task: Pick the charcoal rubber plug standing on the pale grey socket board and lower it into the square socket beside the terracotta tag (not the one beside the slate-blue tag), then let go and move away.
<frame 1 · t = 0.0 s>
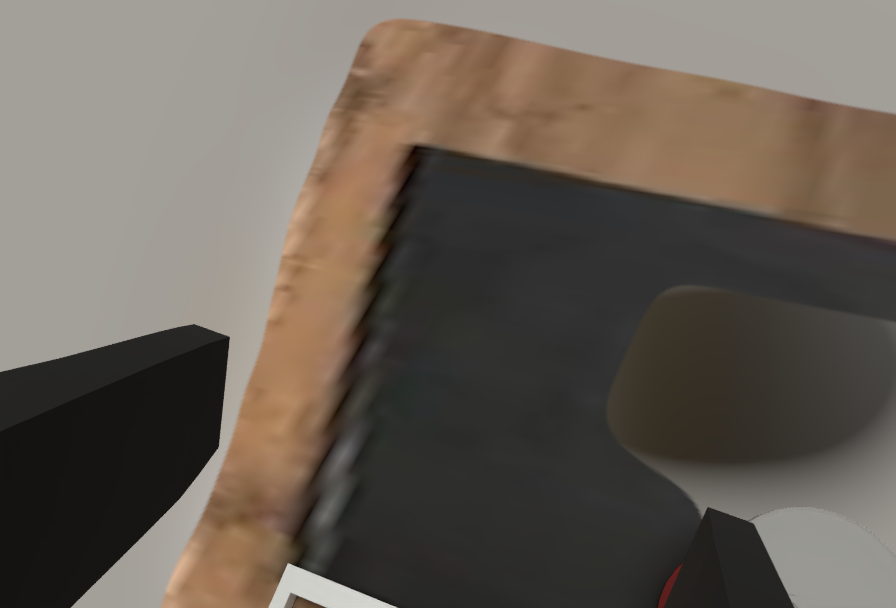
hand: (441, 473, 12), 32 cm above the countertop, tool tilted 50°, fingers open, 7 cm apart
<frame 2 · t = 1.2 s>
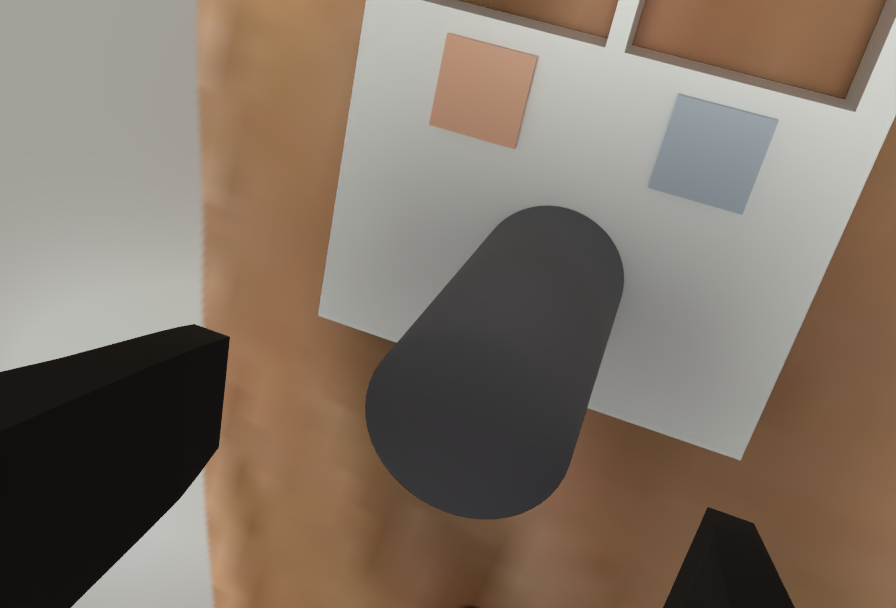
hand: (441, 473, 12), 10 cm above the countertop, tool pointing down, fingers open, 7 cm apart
socket board: (607, 96, 19), on the countertop
plug: (549, 276, 19), point 2 cm above the countertop, touching socket board
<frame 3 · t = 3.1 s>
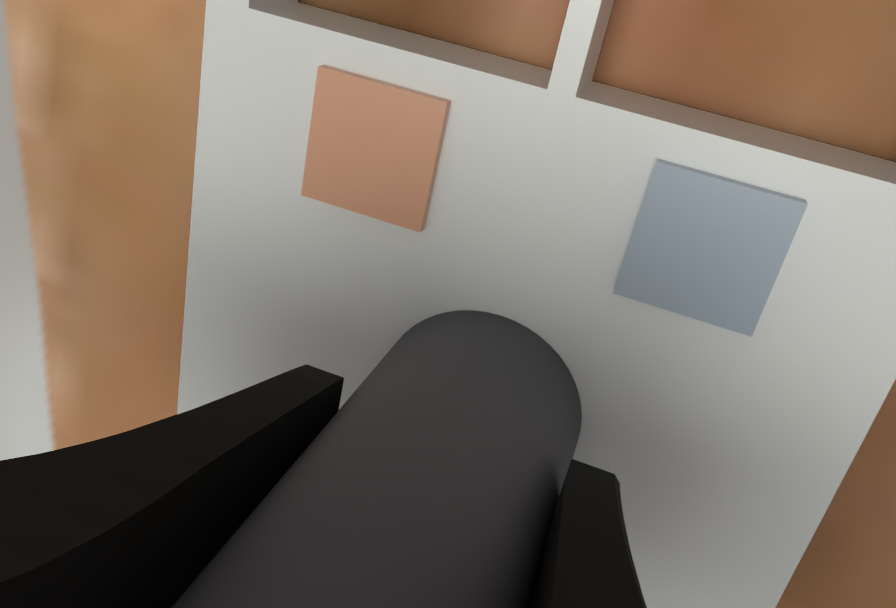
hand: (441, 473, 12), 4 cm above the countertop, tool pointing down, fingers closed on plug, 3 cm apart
socket board: (559, 152, 13), on the countertop
plug: (478, 405, 14), point 2 cm above the countertop, touching gripper, socket board
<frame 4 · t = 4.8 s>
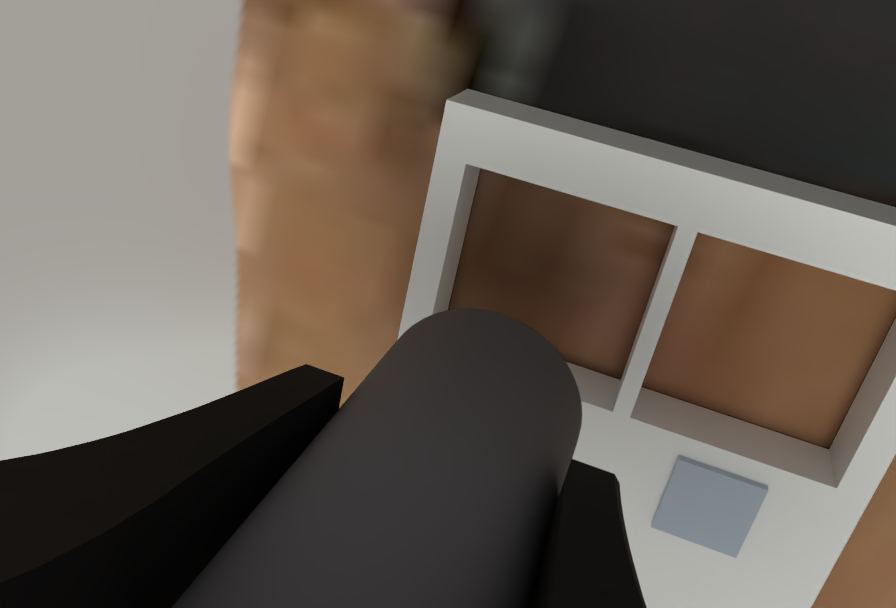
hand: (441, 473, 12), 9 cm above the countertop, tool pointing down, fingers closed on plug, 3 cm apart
socket board: (614, 422, 21), on the countertop
plug: (478, 403, 14), point 7 cm above the countertop, touching gripper
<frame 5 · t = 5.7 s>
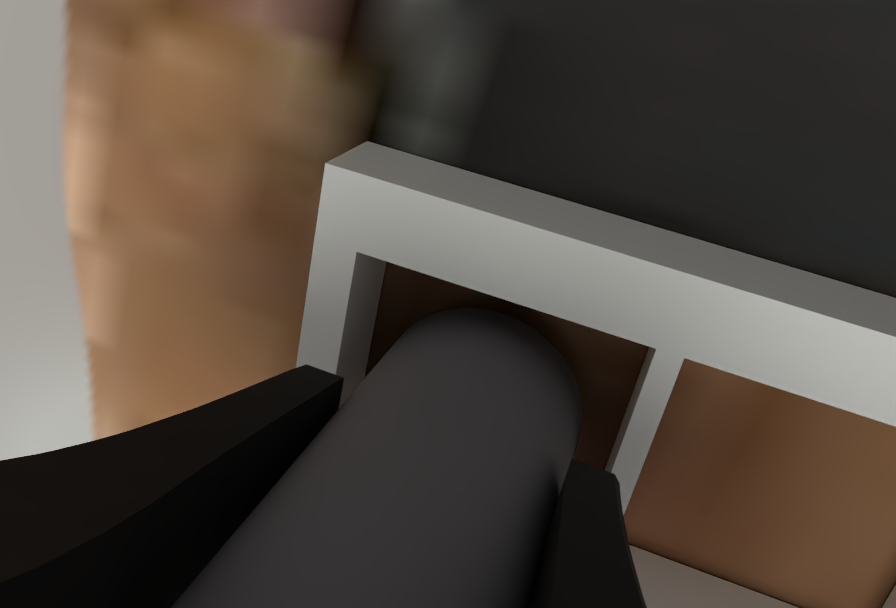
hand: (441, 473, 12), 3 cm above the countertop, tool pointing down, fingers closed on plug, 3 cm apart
socket board: (576, 580, 16), on the countertop
plug: (478, 403, 14), point 1 cm above the countertop, touching gripper
when the fingers open (2 cm above the countertop, at t = 6.6 s): plug stays where it is, resting in socket board.
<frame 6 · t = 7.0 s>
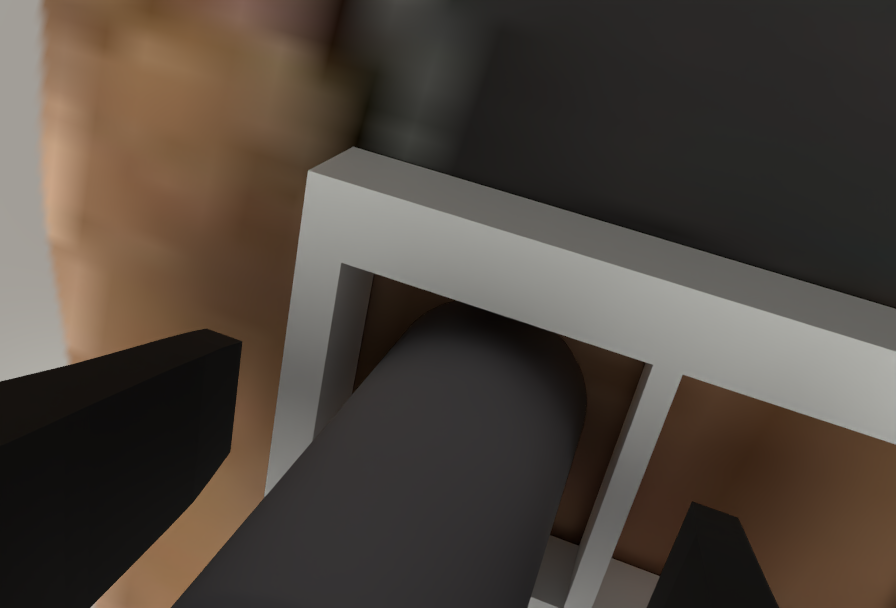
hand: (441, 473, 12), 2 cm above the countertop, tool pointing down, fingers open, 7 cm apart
socket board: (571, 599, 15), on the countertop
plug: (485, 393, 14), resting in socket board
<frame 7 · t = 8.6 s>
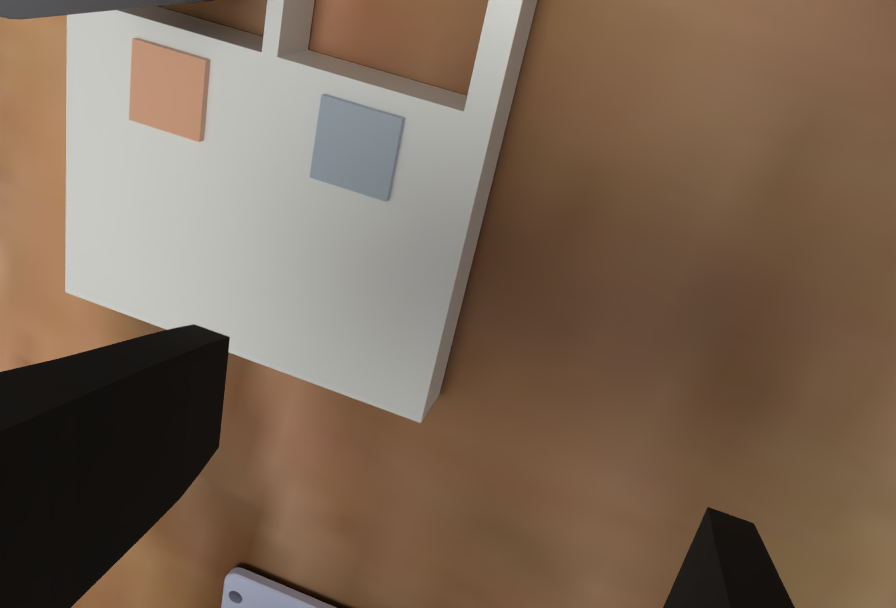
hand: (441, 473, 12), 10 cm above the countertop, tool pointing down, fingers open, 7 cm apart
socket board: (294, 95, 21), on the countertop
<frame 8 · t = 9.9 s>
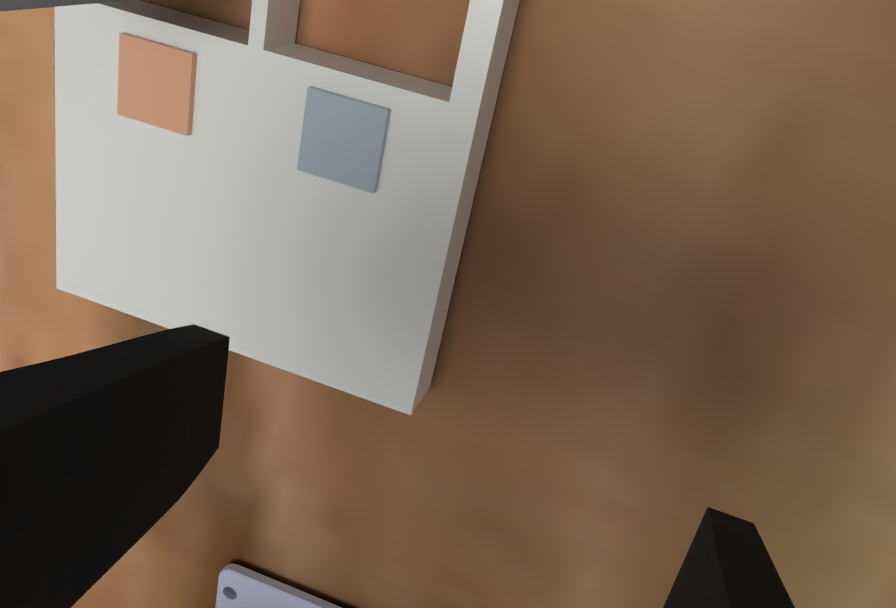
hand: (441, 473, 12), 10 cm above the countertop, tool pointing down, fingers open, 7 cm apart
socket board: (282, 88, 21), on the countertop
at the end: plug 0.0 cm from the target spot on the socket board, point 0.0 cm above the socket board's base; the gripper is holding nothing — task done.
